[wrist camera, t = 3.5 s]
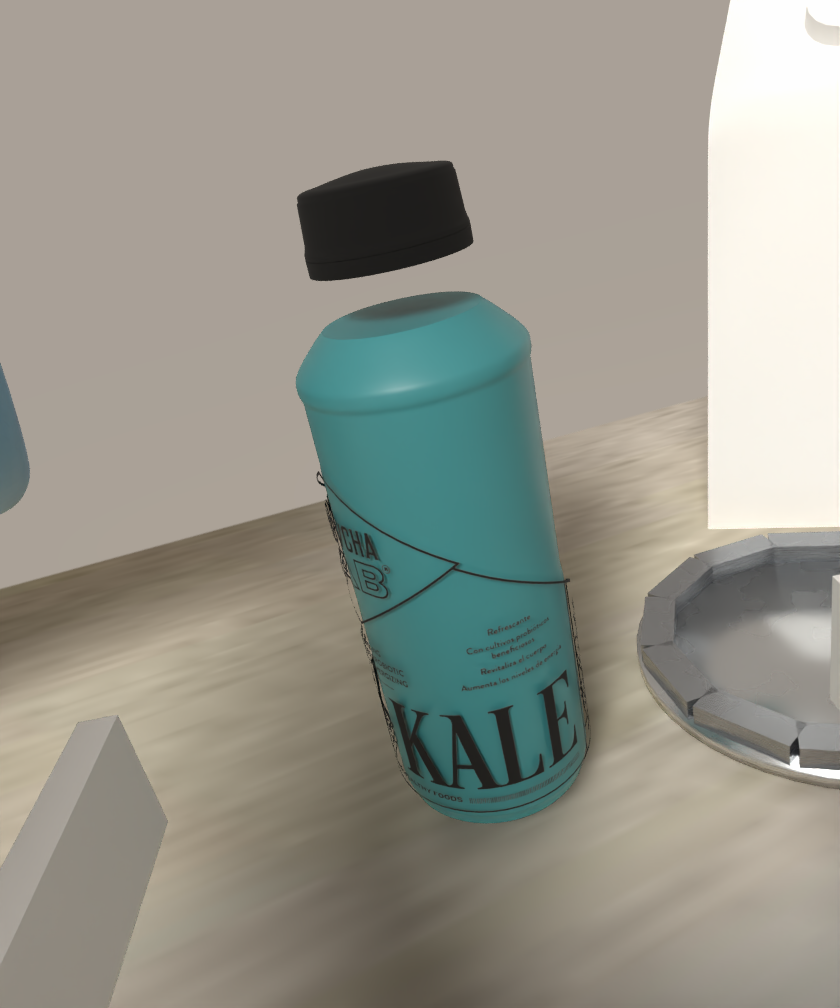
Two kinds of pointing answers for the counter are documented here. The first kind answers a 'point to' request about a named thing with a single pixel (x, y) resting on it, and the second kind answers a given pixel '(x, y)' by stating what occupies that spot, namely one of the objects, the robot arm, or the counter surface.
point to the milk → (775, 268)
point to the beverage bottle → (442, 504)
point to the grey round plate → (750, 652)
